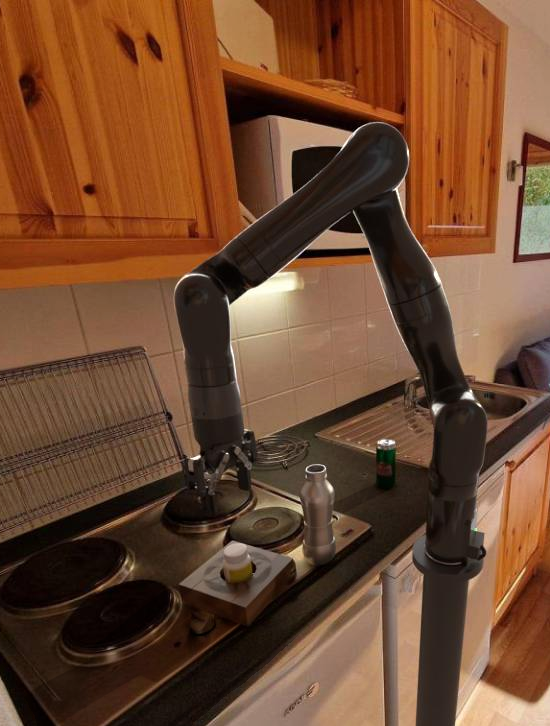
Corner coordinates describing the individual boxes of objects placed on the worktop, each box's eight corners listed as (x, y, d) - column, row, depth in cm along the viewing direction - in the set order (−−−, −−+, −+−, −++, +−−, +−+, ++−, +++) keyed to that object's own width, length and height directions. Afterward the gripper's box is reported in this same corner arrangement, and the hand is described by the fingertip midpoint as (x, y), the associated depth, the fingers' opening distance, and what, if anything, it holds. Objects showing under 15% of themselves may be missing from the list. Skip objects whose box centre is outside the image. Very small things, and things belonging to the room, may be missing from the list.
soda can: (373, 487, 122) (373, 444, 118) (379, 478, 127) (380, 437, 122) (392, 490, 121) (392, 447, 116) (397, 482, 125) (398, 439, 121)
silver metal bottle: (296, 559, 95) (290, 468, 87) (323, 545, 99) (319, 457, 92) (316, 574, 90) (311, 480, 83) (343, 559, 95) (341, 468, 87)
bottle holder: (294, 575, 90) (293, 558, 89) (247, 626, 78) (245, 607, 77) (234, 557, 95) (232, 540, 94) (181, 602, 83) (178, 584, 82)
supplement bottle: (259, 585, 87) (255, 547, 84) (240, 601, 84) (234, 561, 80) (240, 576, 90) (235, 538, 86) (220, 591, 86) (215, 552, 83)
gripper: (203, 428, 66) (218, 527, 72) (264, 398, 78) (272, 485, 85) (161, 420, 69) (179, 517, 75) (227, 393, 81) (238, 478, 87)
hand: (229, 500), depth 80 cm, fingers open, 8 cm apart
